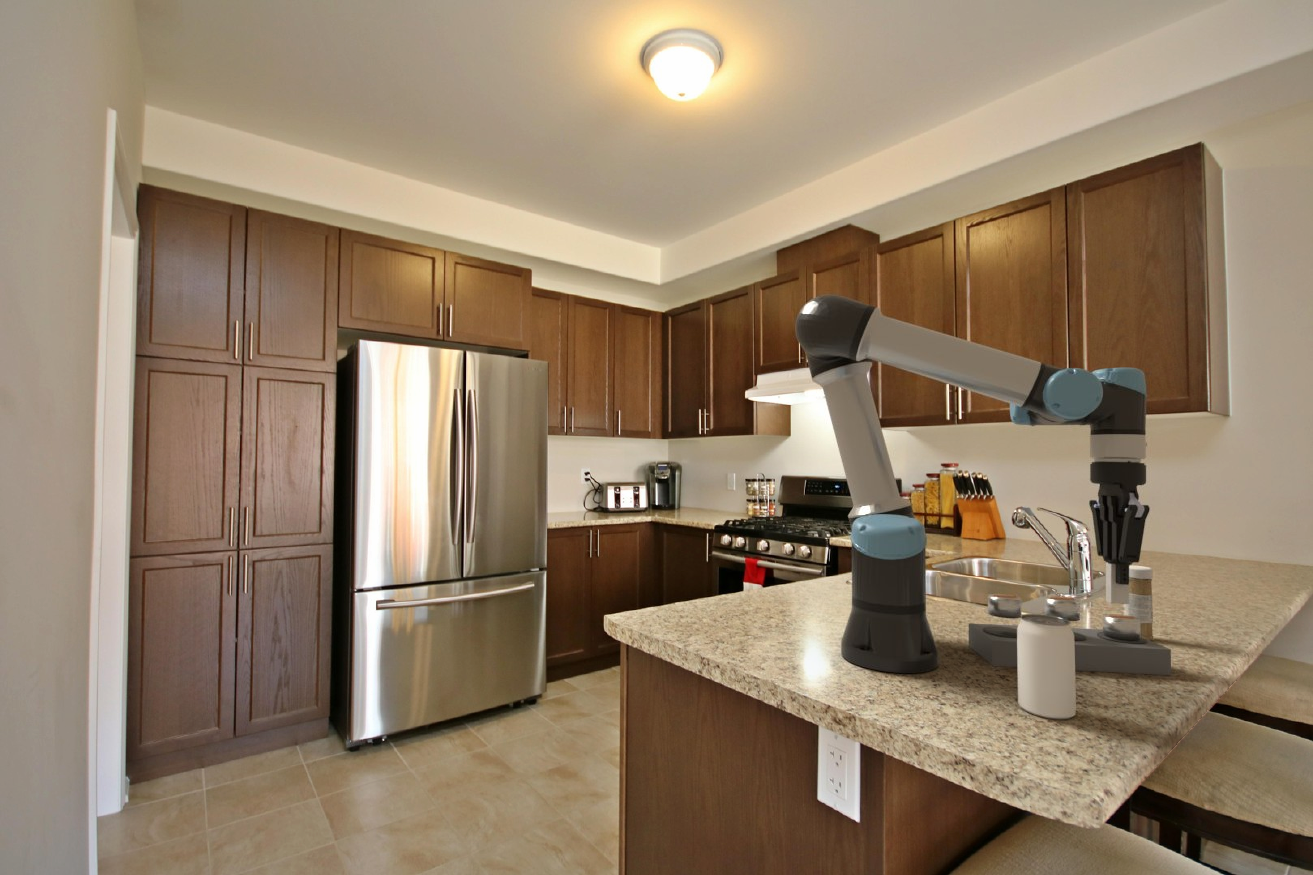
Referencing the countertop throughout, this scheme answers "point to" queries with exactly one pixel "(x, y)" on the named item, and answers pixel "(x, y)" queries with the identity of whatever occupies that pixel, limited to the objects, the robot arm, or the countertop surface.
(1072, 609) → the knob middle
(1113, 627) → the knob
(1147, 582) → the sprinkles bottle
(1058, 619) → the can
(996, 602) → the knob
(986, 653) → the grey tray
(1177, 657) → the countertop surface
